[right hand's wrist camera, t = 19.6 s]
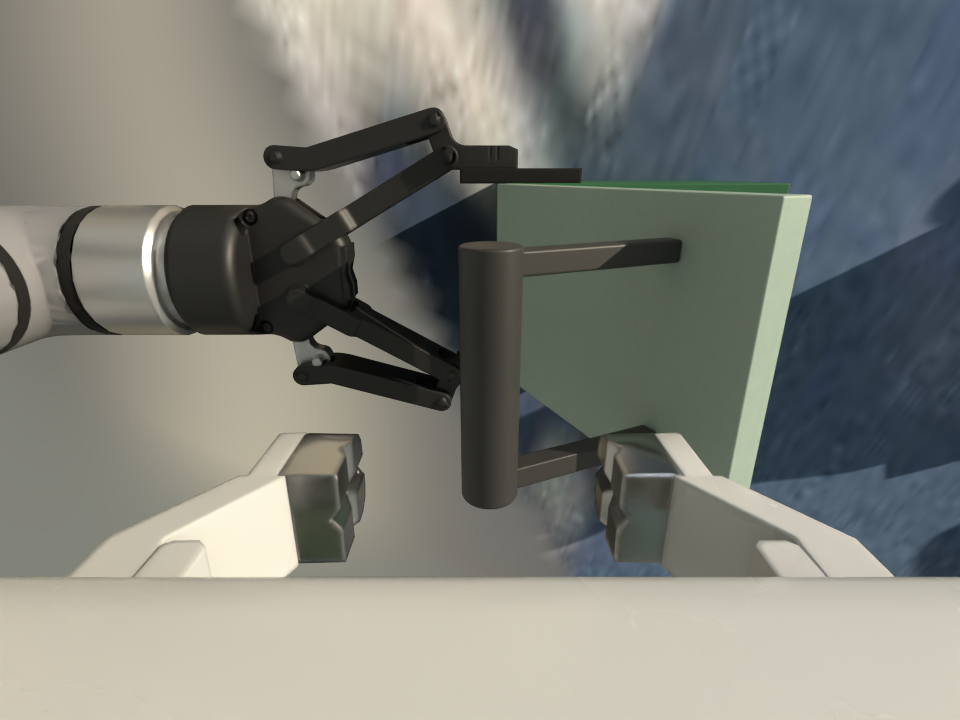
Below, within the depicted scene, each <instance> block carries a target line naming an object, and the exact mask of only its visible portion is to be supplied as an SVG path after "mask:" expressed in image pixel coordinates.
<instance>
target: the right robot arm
mask: <svg viewBox="0 0 960 720" xmlns="http://www.w3.org/2000/svg"><path fill="white" fill-rule="evenodd" d="M362 455H363V453H362V445H361V439H360V437H359V435H358V434H322V433H309V434H308V433H283V434H279V435H278V437H277V438H276V439H275V441H274V442H273V443H272V444H271V446H270V447H269V448H268V450H267V451H266V452H265V453H264V455H263V456H262V457H261V458H260V460H259V461H258V462H257V464H256V465H255V466H254V467H253V469H252V470H251V471H250V473H249V474H248V475H247V476H237V477H235V478H233V479H231V480H229V481H227V482H225V483H223V484H220V485H218V486H216V487H214V488H212V489H210V490H208V491H205V492H203V493H201V494H199V495H197V496H195V497H193V498H190V499H188V500H186V501H184V502H182V503H180V504H178V505H175V506H173V507H171V508H169V509H167V510H165V511H163V512H161V513H158V514H156V515H154V516H152V517H150V518H148V519H146V520H143V521H141V522H139V523H137V524H135V525H133V526H131V527H128V528H126V529H124V530H122V531H120V532H118V533H116V534H113V535H111V536H109V537H107V538H105V539H104V540H103V541H102V542H101V543H100V544H99V545H98V546H97V547H96V548H95V549H94V550H93V551H92V552H91V553H90V554H89V555H88V556H87V557H86V558H85V559H83V560H82V561H81V562H80V563H79V564H78V565H77V566H76V567H75V568H74V569H73V570H72V571H71V572H70V573H69V574H68V575H67V576H66V577H0V720H960V577H894V576H893V575H892V574H891V573H890V572H889V571H888V570H887V569H886V568H885V567H884V566H883V565H882V564H881V563H880V562H879V561H878V560H877V559H876V558H875V557H874V556H873V555H872V554H871V553H870V552H869V551H868V550H867V549H865V548H864V547H863V546H862V545H861V544H860V543H859V542H858V541H857V540H856V539H855V538H853V537H850V536H848V535H846V534H844V533H842V532H840V531H838V530H836V529H833V528H831V527H829V526H827V525H825V524H823V523H821V522H818V521H816V520H814V519H812V518H810V517H808V516H806V515H804V514H801V513H799V512H797V511H795V510H793V509H791V508H789V507H786V506H784V505H782V504H780V503H778V502H776V501H774V500H772V499H769V498H767V497H765V496H763V495H761V494H759V493H757V492H754V491H752V490H750V489H748V488H746V487H744V486H742V485H740V484H737V483H735V482H733V481H731V480H729V479H727V478H725V477H723V476H713V475H712V474H711V473H710V471H709V470H708V469H707V468H706V466H705V465H704V464H703V462H702V461H701V460H700V459H699V457H698V456H697V455H696V454H695V452H694V451H693V450H692V448H691V447H690V446H689V445H688V443H687V442H686V441H685V439H684V438H683V437H682V436H681V434H678V433H655V434H654V433H634V434H603V435H600V439H599V443H598V453H597V455H598V457H599V460H600V462H601V465H602V467H601V468H600V470H599V471H598V472H597V473H596V475H595V504H596V509H597V513H598V516H599V520H600V522H602V523H603V524H605V525H606V540H607V543H608V545H609V548H610V551H611V554H612V557H613V559H614V562H634V563H661V566H663V567H664V568H665V569H666V570H667V571H668V572H669V573H671V574H672V575H673V576H674V577H286V576H287V575H288V574H290V573H291V572H292V571H293V570H294V569H295V568H296V567H298V563H325V562H346V560H347V557H348V554H349V551H350V548H351V546H352V543H353V540H354V525H355V524H357V523H358V522H360V520H361V516H362V513H363V509H364V502H365V475H364V473H363V472H362V471H361V470H360V468H359V467H358V465H359V462H360V460H361V457H362Z"/></svg>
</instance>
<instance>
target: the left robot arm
mask: <svg viewBox="0 0 960 720" xmlns="http://www.w3.org/2000/svg"><path fill="white" fill-rule="evenodd" d="M428 139H429V140H430V143H431V146H432V149H433V151H434V152H432V153H430V154H429V155H427V156H426V157H424V158H422V159H421V160H419V161H418V162H416V163H415V164H413V165H411V166H410V167H408V168H407V169H405V170H403V171H402V172H400V173H399V174H397V175H395V176H394V177H392V178H391V179H389V180H387V181H386V182H384V183H383V184H381V185H380V186H378V187H376V188H375V189H373V190H372V191H370V192H368V193H367V194H365V195H364V196H362V197H360V198H359V199H357V200H356V201H354V202H352V203H351V204H349V205H348V206H346V207H344V208H342V209H340V210H339V211H337V212H335V213H334V214H332V215H331V216H329V217H327V218H325V217H324V216H323V215H321V214H320V213H318V212H317V211H315V210H314V209H313V208H311V207H310V206H308V205H307V204H305V203H304V202H302V201H301V200H300V199H298V198H297V193H298V191H299V190H300V188H302V187H304V186H309V185H311V184H312V183H313V182H314V179H315V171H328V170H332V169H336V168H339V167H342V166H345V165H348V164H351V163H355V162H358V161H361V160H364V159H367V158H370V157H374V156H377V155H380V154H383V153H386V152H390V151H393V150H396V149H399V148H402V147H405V146H409V145H412V144H415V143H418V142H421V141H424V140H428ZM263 157H264V161H265V163H266V164H267V165H268V166H269V167H270V168H272V173H273V188H274V198H272V199H270V200H268V201H267V202H265V203H263V204H261V205H191V206H188V207H186V208H182V207H179V206H177V205H104V206H89V207H72V206H30V205H0V354H3V353H5V352H8V351H11V350H13V349H16V348H18V347H21V346H24V345H26V344H29V343H32V342H34V341H37V340H39V339H43V338H47V337H52V336H61V335H190V334H193V333H196V332H198V333H200V334H205V335H254V334H255V335H258V334H275V335H279V336H282V337H284V338H286V339H288V340H290V341H293V344H294V349H295V353H296V358H297V363H298V367H297V368H296V369H295V370H294V372H293V378H294V380H295V381H296V382H297V383H298V384H300V385H315V384H330V383H332V384H336V385H340V386H344V387H348V388H352V389H356V390H360V391H364V392H368V393H372V394H376V395H379V396H383V397H387V398H391V399H395V400H399V401H403V402H407V403H411V404H415V405H419V406H423V407H427V408H431V409H435V410H439V411H444V410H447V409H448V408H449V407H450V405H451V401H452V398H453V395H454V393H455V390H456V388H457V386H458V385H459V384H460V352H459V351H457V354H455V353H454V352H452V351H450V350H448V349H446V348H444V347H442V346H440V345H439V344H437V343H435V342H433V341H431V340H429V339H427V338H425V337H423V336H422V335H420V334H418V333H416V332H414V331H412V330H410V329H408V328H406V327H405V326H403V325H401V324H399V323H397V322H395V321H393V320H391V319H389V318H388V317H386V316H384V315H382V314H380V313H378V312H376V311H374V310H373V309H372V308H371V307H370V306H369V305H368V304H366V303H364V302H363V301H361V300H359V299H357V298H355V296H356V294H357V293H358V287H357V279H356V277H355V274H354V271H353V262H354V257H355V251H354V242H351V240H350V238H349V236H348V234H349V233H351V232H352V231H354V230H356V229H357V228H359V227H360V226H362V225H364V224H365V223H367V222H368V221H370V220H371V219H373V218H375V217H376V216H378V215H380V214H381V213H383V212H384V211H386V210H388V209H389V208H391V207H392V206H394V205H396V204H397V203H399V202H401V201H402V200H404V199H405V198H407V197H409V196H410V195H412V194H414V193H415V192H417V191H418V190H420V189H422V188H423V187H425V186H427V185H428V184H430V183H431V182H433V181H435V180H436V179H438V178H439V177H441V176H443V175H444V174H446V173H448V172H449V171H451V170H460V183H581V173H582V168H518V149H515V148H513V147H511V146H465V145H461V144H458V143H457V142H456V141H455V140H454V139H453V137H452V134H451V131H450V128H449V126H448V123H447V120H446V118H445V116H444V114H443V112H442V111H441V110H440V109H438V108H435V107H434V108H428V109H425V110H422V111H419V112H416V113H413V114H410V115H406V116H403V117H400V118H397V119H394V120H391V121H388V122H385V123H381V124H378V125H375V126H372V127H369V128H366V129H363V130H360V131H356V132H353V133H350V134H347V135H344V136H341V137H338V138H335V139H331V140H328V141H325V142H322V143H319V144H316V145H313V146H310V147H306V148H305V147H292V146H278V145H272V146H269V147H267V148H266V149H265V151H264V155H263ZM327 325H328V326H330V327H332V328H334V329H336V330H338V331H340V332H342V333H344V334H345V335H348V336H351V337H358V338H360V339H362V340H364V341H366V342H368V343H370V344H372V345H374V346H376V347H378V348H379V349H381V350H383V351H385V352H387V353H389V354H391V355H393V356H395V357H397V358H399V359H401V360H403V361H405V362H407V363H408V364H410V365H412V366H414V367H416V368H418V369H420V370H422V371H424V372H426V373H428V374H430V375H428V374H424V373H420V372H416V371H412V370H408V369H405V368H401V367H397V366H393V365H389V364H385V363H381V362H378V361H374V360H370V359H366V358H362V357H359V356H355V355H351V354H346V353H333V351H332V349H331V348H330V347H329V346H327V345H321V344H319V343H317V342H316V341H315V339H314V337H313V336H314V335H315V334H317V333H318V332H319V331H321V330H322V329H323V328H324V327H326V326H327Z"/></svg>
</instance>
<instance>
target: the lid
mask: <svg viewBox="0 0 960 720" xmlns="http://www.w3.org/2000/svg"><path fill="white" fill-rule="evenodd" d="M811 199H812V196H811V195H801V194H775V193H748V192H722V191H695V190H669V189H642V188H616V187H589V186H562V185H536V184H498V185H497V241H480V242H469V243H464V244H461V245H459V248H458V265H459V330H460V395H461V460H462V495H463V497H464V499H465V500H466V501H467V502H468V503H469V504H471V505H473V506H475V507H478V508H482V509H498V508H502V507H505V506H507V505H509V504H510V503H511V502H513V500H514V499H515V497H516V495H517V488H520V487H523V486H527V485H530V484H534V483H537V482H541V481H545V480H548V479H552V478H555V477H559V476H562V475H566V474H570V473H573V472H577V471H580V470H584V469H587V468H591V467H595V466H598V465H601V462H600V460H599V457H598V455H597V453H598V443H599V439H600V435H603V434H634V433H654V434H655V433H678V434H681V436H682V437H683V438H684V439H685V441H686V442H687V443H688V445H689V446H690V447H691V448H692V450H693V451H694V452H695V454H696V455H697V456H698V457H699V459H700V460H701V461H702V462H703V464H704V465H705V466H706V468H707V469H708V470H709V471H710V473H711V474H712V475H713V476H723V477H725V478H727V479H729V480H731V481H733V482H735V483H737V484H740V485H742V486H744V487H746V488H748V489H749V488H750V484H751V479H752V474H753V470H754V465H755V460H756V456H757V451H758V446H759V442H760V437H761V432H762V428H763V423H764V418H765V414H766V409H767V404H768V400H769V395H770V390H771V386H772V381H773V376H774V372H775V367H776V362H777V358H778V353H779V348H780V344H781V339H782V334H783V330H784V325H785V320H786V316H787V311H788V306H789V302H790V297H791V292H792V288H793V283H794V278H795V274H796V269H797V264H798V260H799V255H800V250H801V246H802V241H803V236H804V232H805V227H806V222H807V218H808V213H809V208H810V204H811ZM520 387H521V388H522V389H524V390H525V391H526V392H528V393H529V394H530V395H532V396H533V397H535V398H536V399H537V400H539V401H540V402H541V403H543V404H544V405H545V406H547V407H548V408H550V409H551V410H552V411H554V412H555V413H556V414H558V415H559V416H560V417H562V418H563V419H564V420H566V421H567V422H569V423H570V424H571V425H573V426H574V427H575V428H577V429H578V430H579V431H581V432H582V433H584V434H585V435H586V436H588V437H589V438H588V439H584V440H580V441H576V442H572V443H568V444H564V445H560V446H556V447H552V448H548V449H544V450H540V451H536V452H532V453H528V454H525V455H521V456H518V436H519V401H520Z"/></svg>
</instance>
